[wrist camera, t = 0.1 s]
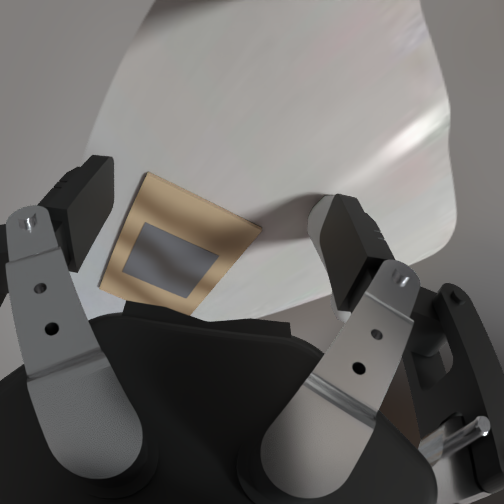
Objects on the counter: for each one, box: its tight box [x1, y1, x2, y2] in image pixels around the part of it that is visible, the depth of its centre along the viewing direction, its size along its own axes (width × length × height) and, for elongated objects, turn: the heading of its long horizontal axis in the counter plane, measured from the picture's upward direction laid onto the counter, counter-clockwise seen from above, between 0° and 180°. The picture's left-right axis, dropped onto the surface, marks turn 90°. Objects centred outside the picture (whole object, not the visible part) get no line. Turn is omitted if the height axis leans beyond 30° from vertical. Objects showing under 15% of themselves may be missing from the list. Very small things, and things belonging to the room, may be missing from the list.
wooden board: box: [99, 172, 262, 316], centre depth 37 cm, size 20×13×1 cm, turn 147°
